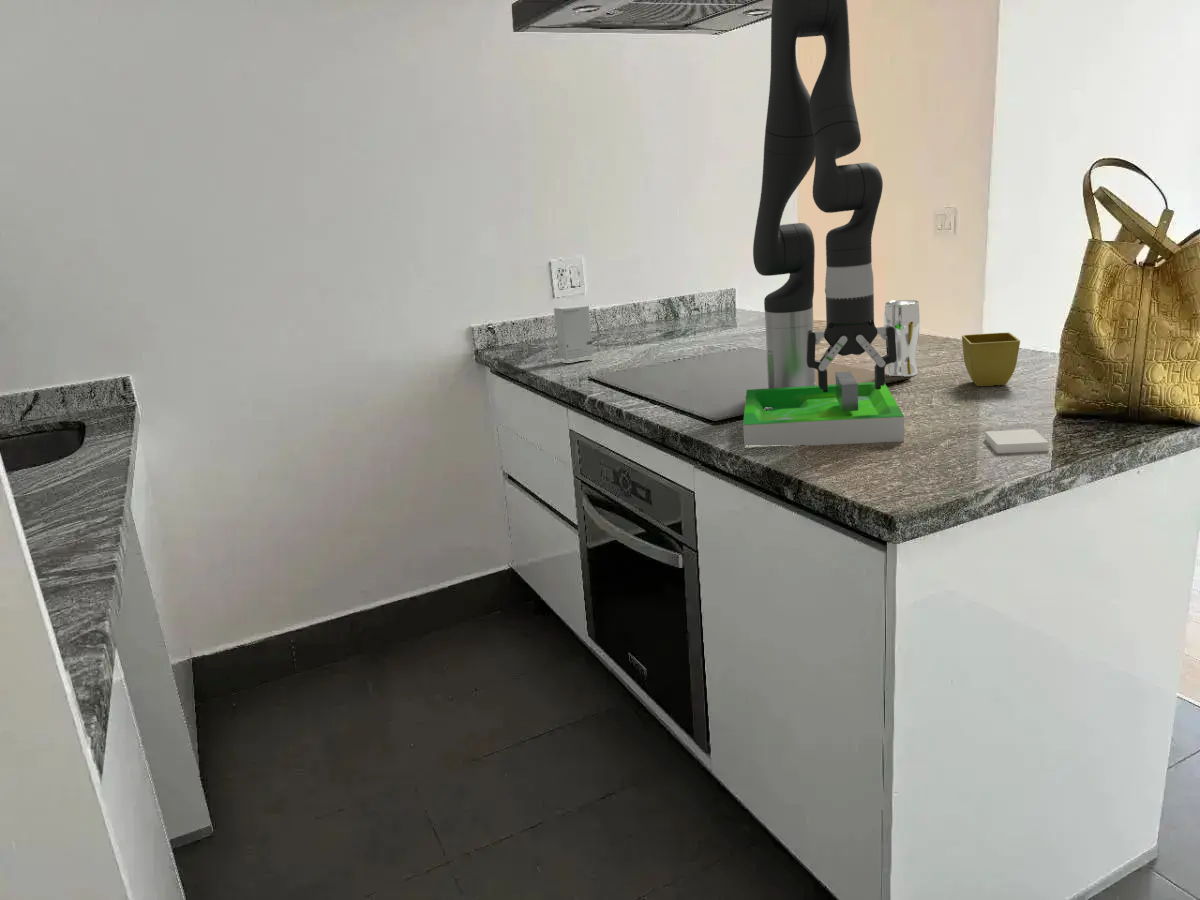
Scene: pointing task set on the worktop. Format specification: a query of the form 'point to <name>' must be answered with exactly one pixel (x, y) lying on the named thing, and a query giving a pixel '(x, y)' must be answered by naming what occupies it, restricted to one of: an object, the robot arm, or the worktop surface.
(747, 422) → the tray
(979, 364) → the flower pot
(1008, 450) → the tile
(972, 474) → the worktop surface
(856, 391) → the gray rectangular block
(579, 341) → the skincare box
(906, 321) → the beer glass
